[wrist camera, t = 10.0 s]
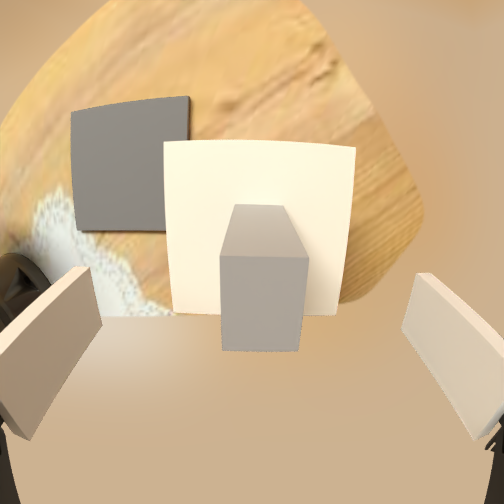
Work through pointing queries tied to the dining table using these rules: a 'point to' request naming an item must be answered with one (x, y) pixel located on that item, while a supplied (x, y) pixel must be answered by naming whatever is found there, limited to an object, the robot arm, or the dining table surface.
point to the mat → (124, 162)
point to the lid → (257, 234)
